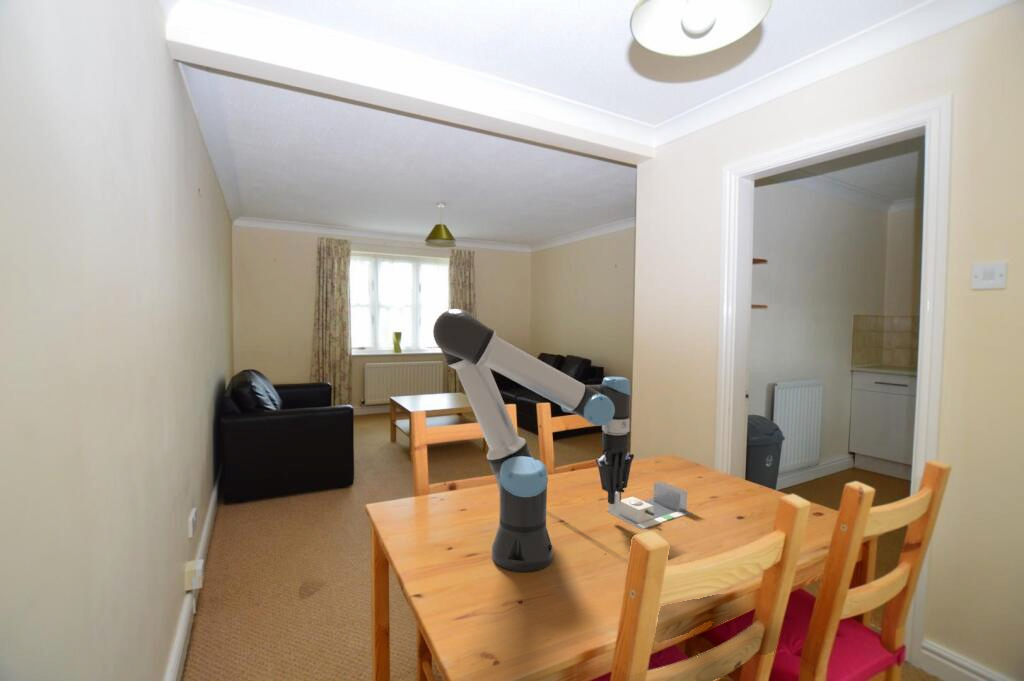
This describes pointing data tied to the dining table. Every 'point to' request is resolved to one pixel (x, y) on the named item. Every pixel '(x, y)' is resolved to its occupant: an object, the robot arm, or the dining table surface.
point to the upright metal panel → (670, 496)
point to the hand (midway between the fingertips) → (614, 513)
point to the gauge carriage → (636, 510)
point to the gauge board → (656, 515)
